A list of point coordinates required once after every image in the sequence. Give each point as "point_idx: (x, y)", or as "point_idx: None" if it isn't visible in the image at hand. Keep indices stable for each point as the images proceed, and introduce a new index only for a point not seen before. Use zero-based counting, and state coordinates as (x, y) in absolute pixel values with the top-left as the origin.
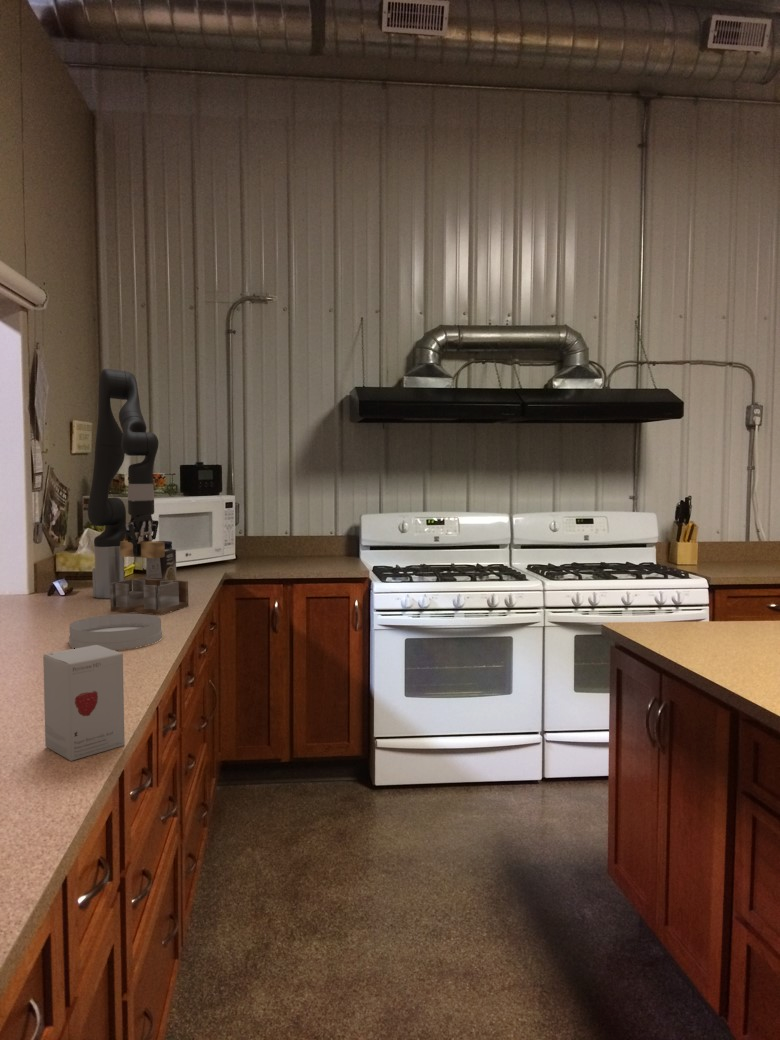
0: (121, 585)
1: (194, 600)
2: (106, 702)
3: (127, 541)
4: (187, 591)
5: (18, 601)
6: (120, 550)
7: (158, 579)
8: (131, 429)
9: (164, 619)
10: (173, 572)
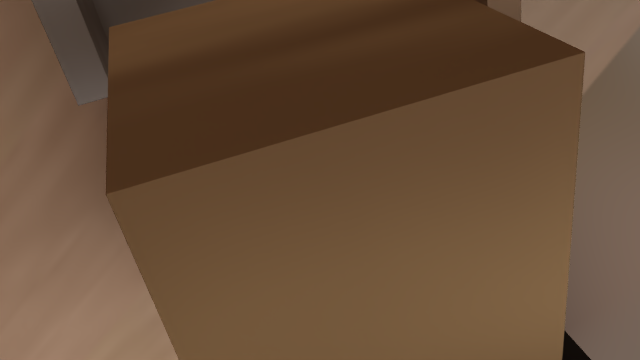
0: (51, 37)
1: (597, 52)
2: None
3: (264, 356)
4: None
5: None
6: (111, 77)
7: (515, 16)
8: None
9: (114, 354)
10: None
